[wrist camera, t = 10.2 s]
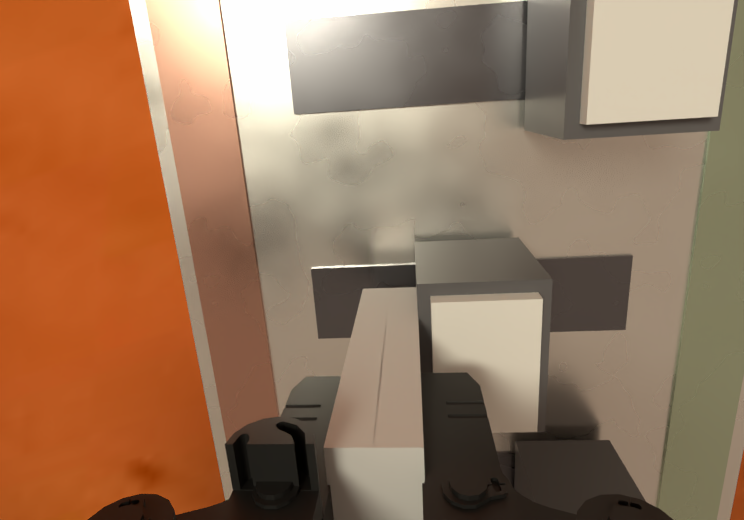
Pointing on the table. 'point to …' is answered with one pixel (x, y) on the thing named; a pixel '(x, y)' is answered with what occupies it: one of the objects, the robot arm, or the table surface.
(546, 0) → the block
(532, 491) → the breaker
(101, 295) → the table surface
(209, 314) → the panel
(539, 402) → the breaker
